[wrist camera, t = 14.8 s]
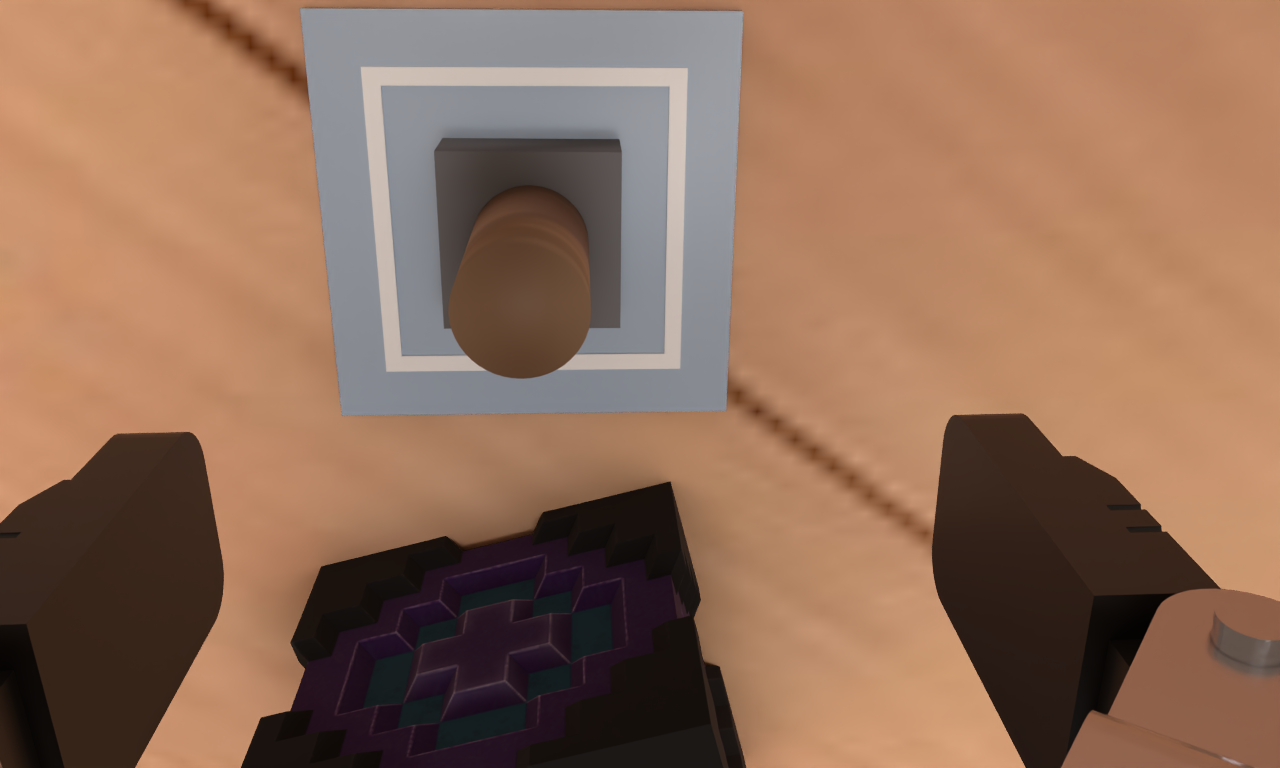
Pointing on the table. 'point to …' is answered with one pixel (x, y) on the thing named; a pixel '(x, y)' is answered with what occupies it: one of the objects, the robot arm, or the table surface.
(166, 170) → the table surface
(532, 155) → the stamp
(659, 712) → the energy cube
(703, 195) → the mat
